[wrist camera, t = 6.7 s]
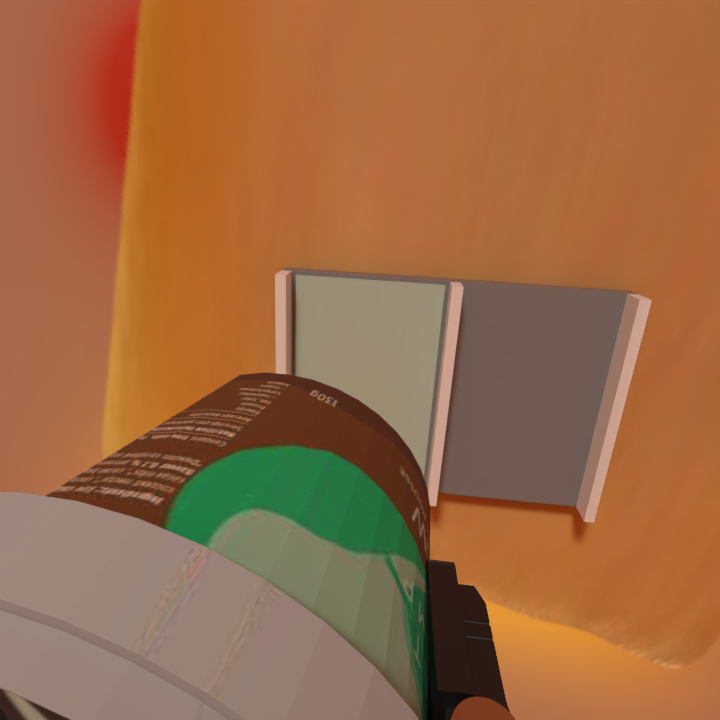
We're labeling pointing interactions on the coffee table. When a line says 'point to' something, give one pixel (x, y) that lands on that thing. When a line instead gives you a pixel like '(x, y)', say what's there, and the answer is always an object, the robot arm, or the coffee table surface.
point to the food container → (225, 569)
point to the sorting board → (474, 374)
